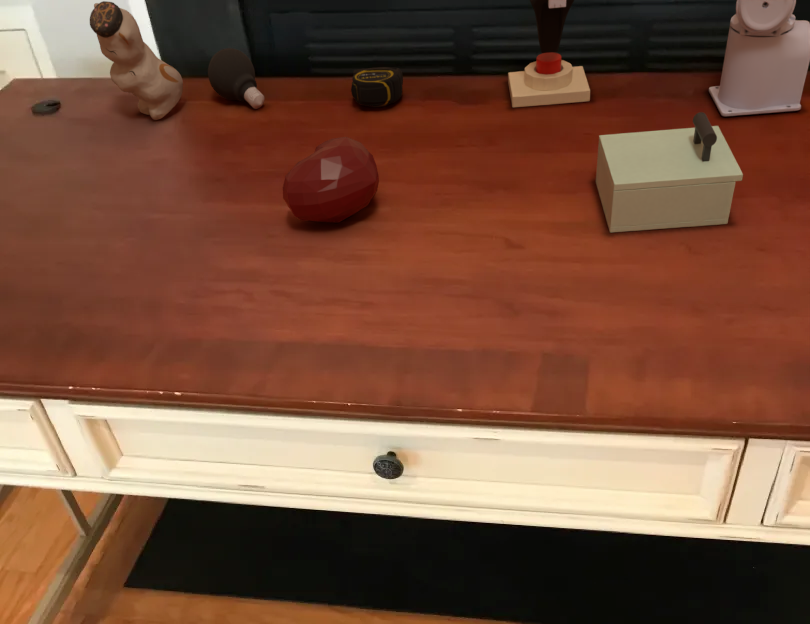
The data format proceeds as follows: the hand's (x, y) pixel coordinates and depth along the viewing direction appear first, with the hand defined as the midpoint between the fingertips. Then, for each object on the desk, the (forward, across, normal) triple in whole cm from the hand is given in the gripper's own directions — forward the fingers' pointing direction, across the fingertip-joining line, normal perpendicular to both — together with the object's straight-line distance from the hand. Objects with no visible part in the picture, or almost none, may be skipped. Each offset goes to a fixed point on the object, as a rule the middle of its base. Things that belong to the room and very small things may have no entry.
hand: (549, 50), depth 116 cm
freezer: (+5, +31, +9) cm, 33 cm away
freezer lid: (0, +31, +9) cm, 32 cm away
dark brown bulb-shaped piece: (+5, -6, -42) cm, 43 cm away
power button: (+2, 0, 0) cm, 2 cm away
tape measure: (+5, -2, -23) cm, 24 cm away
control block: (+5, 0, 0) cm, 5 cm away
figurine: (+5, -3, -54) cm, 54 cm away
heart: (+5, +28, -26) cm, 39 cm away
